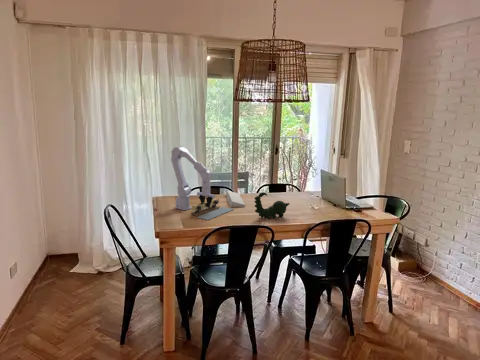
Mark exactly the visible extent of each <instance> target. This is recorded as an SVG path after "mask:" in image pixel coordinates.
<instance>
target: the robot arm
mask: <svg viewBox="0 0 480 360" xmlns="http://www.w3.org/2000/svg"><path fill="white" fill-rule="evenodd" d="M170 152H171V156H170V157H171V158H170V160H171V161H170V162H171V164H172V168H173V170H174V173H175V177H176V181H177V184H178V185H177V196H176V198H175V207H174V208H175V209H179V210H182V211H187V210H190V209H191V210H192V206H190V201H191V199H190V195H191V193H192V188H191V187H190V185H189V183H188V182H187V181H186V177H185V175H184V170H183V168H182V165H181V161H180V160H181V159H182V158H185V159H186V160H187V161H189V162H190V163H191V164H192V166H193V168H194V170H196V172H197V173H198V174H199V175H200V178H201V191H197V192H196V195H197V196H198V199H199V201H200V203H202V202H205V201H207V207H210V204H211V201H212V199H214V198H216V194H212V193H211V177H212V175H213V173H212V171H211V169H208V168H207V167H205V166H204V164H203V162H201V161H198V160H197V159H196V158H195V157H194V156H193V155H192V154H191V152H190V151H189V150H188V148H186V147H185V146H184V145H180V146H175V147H173V149H172V150H171V151H170Z"/></svg>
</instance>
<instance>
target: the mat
mask: <svg viewBox="0 0 480 360" xmlns="http://www.w3.org/2000/svg"><path fill="white" fill-rule="evenodd" d="M234 210H235V209H234V208H232V207H225V206H221V207H219V209H216V210H213V211H211V212H208V213H205V214H203V215H200V216H196V219H200V220H205V221H211V220H212V219H215V218H218V217H220V216H222V215H225V214H228V213H231V212H232V211H234Z"/></svg>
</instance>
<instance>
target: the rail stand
mask: <svg viewBox="0 0 480 360" xmlns="http://www.w3.org/2000/svg"><path fill="white" fill-rule="evenodd" d="M218 205H219V203H218V200H216V201H215V204H214V205H211V206H210V207H206V208H203V209H201V206H199V207H198V210H197V211H192V212H191V215H192V216H196V217H198V216H201V215H203V214H206V213H209V212H211V211H214V210H217V209H219V208H220V206H218Z"/></svg>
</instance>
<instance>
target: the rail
mask: <svg viewBox="0 0 480 360" xmlns="http://www.w3.org/2000/svg"><path fill="white" fill-rule="evenodd" d="M216 200H218V204H219V202H220V200H219V198H216V197H215V198H213V199H212V201H211V204H210V206H212V205H214V204H215V201H216ZM199 206H201V209H203V208H206V207H207V200H205V202H202V203H201V202H199V203H197V204H194V205H191V207H192V208H191V211H192V212H195V211H197V210H198V207H199Z"/></svg>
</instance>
